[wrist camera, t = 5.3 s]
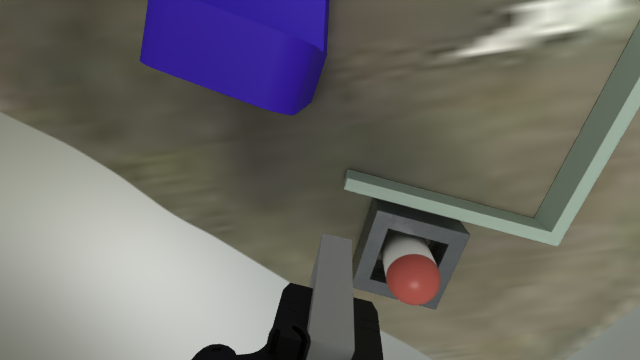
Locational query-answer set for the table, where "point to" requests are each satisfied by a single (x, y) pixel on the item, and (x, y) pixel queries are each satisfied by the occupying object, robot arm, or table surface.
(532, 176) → the table surface
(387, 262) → the plunger
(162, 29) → the bracket
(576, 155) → the bay
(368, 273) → the housing
